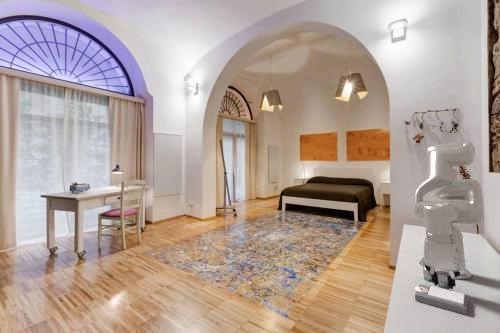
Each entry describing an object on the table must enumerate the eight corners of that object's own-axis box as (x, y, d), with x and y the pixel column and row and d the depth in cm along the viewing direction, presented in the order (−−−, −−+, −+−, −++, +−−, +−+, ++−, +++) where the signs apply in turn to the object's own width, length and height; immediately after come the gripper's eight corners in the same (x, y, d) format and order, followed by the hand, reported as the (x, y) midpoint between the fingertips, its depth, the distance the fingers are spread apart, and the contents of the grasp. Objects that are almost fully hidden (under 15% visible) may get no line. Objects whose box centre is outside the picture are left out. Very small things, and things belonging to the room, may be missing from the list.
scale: (417, 288, 87) (416, 281, 88) (467, 301, 78) (466, 293, 78) (412, 299, 80) (411, 291, 81) (466, 314, 71) (465, 305, 71)
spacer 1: (424, 276, 97) (423, 265, 97) (436, 279, 94) (435, 267, 95) (423, 280, 94) (422, 267, 95) (435, 282, 91) (434, 270, 92)
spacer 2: (437, 282, 89) (436, 269, 89) (451, 285, 86) (449, 272, 86) (436, 286, 86) (435, 273, 86) (450, 290, 83) (449, 276, 83)
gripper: (469, 238, 83) (474, 288, 83) (413, 232, 95) (418, 276, 94) (469, 244, 78) (474, 297, 77) (410, 237, 89) (415, 283, 89)
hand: (443, 285), depth 86 cm, fingers closed on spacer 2, 4 cm apart
